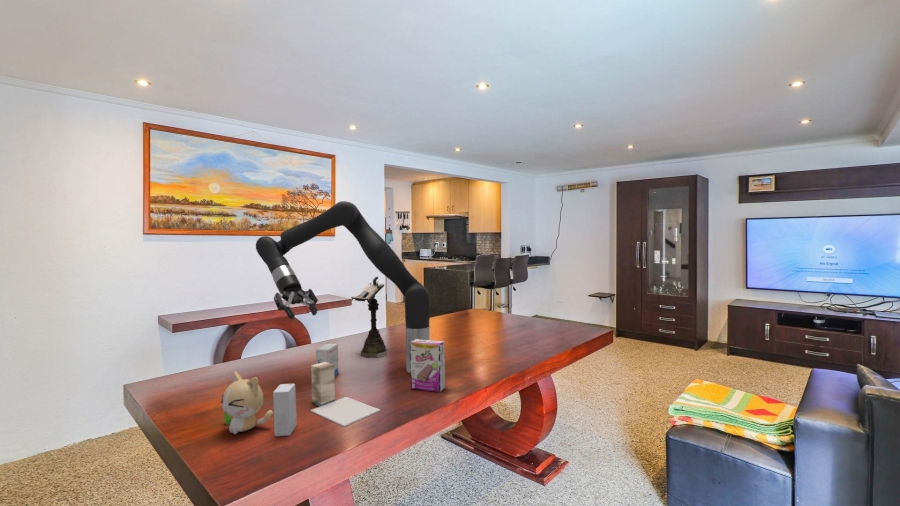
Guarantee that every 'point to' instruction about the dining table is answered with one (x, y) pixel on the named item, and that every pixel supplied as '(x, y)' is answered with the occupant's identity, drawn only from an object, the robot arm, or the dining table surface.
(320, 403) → the birch block
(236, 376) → the kitten
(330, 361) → the ink box
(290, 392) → the skincare box
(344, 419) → the mat
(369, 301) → the book lectern
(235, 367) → the dining table surface
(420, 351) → the candy bar box
